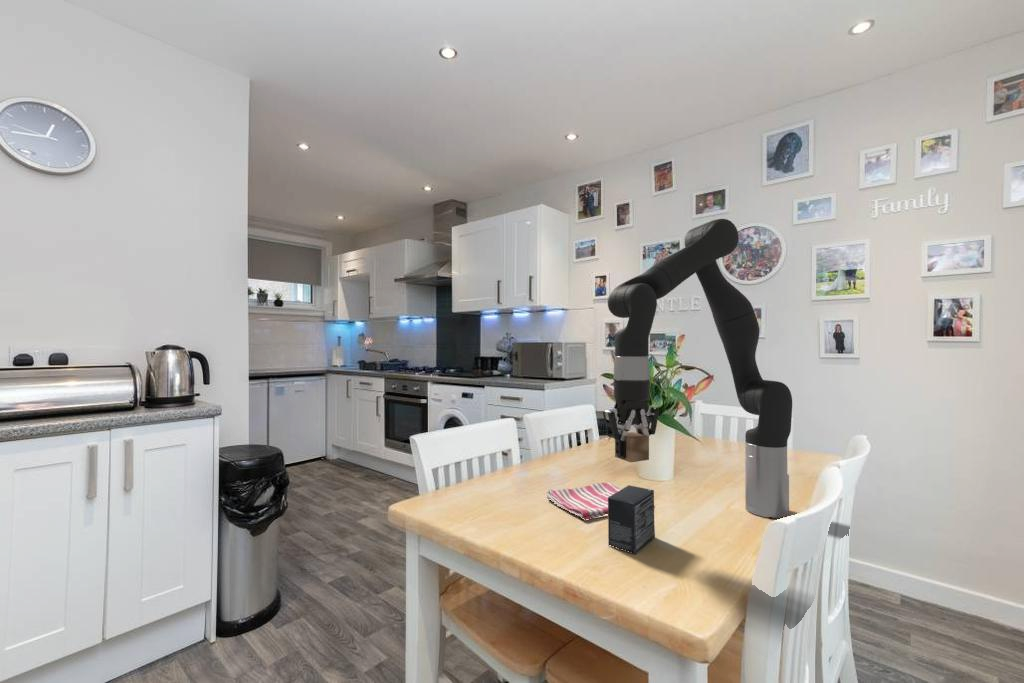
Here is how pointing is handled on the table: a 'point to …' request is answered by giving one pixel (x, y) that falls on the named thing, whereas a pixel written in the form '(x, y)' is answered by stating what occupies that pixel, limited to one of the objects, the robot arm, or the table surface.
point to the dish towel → (585, 499)
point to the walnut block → (636, 447)
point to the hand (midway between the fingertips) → (631, 455)
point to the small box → (631, 518)
